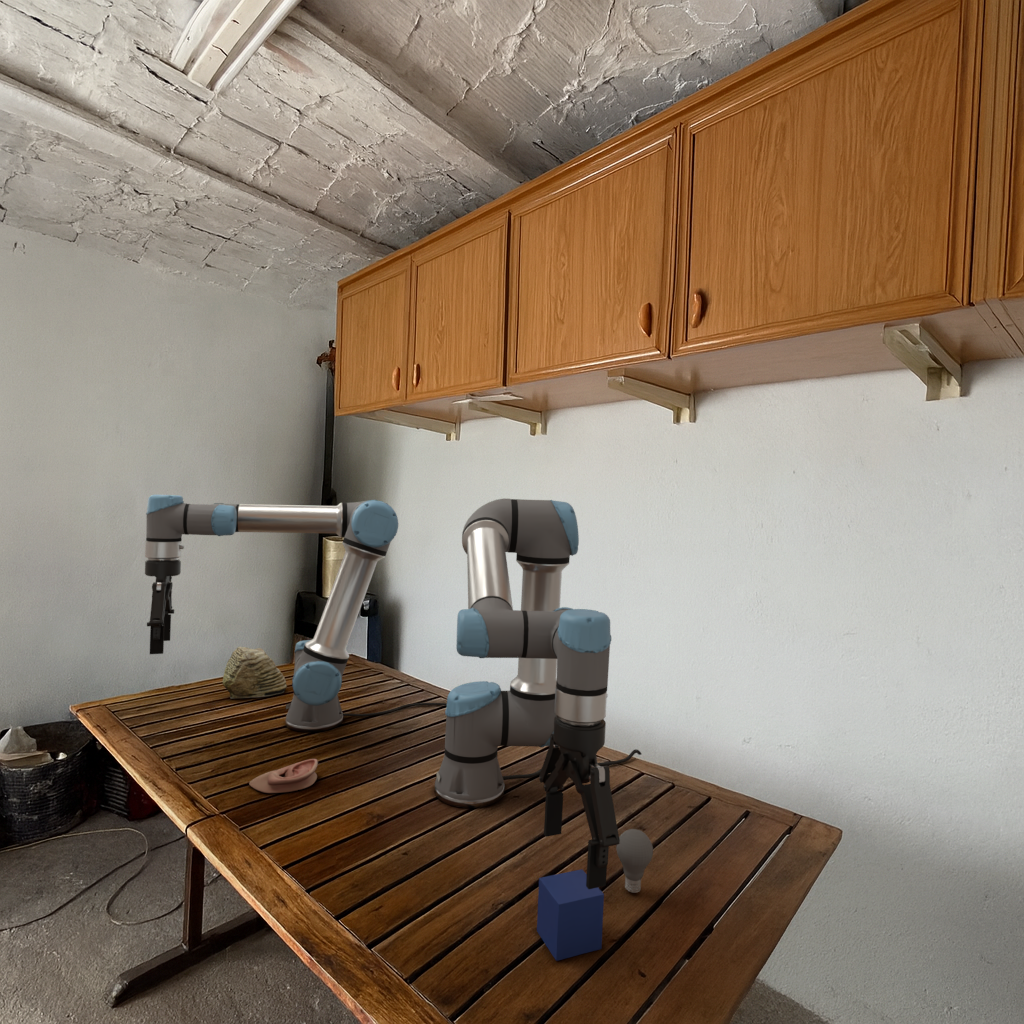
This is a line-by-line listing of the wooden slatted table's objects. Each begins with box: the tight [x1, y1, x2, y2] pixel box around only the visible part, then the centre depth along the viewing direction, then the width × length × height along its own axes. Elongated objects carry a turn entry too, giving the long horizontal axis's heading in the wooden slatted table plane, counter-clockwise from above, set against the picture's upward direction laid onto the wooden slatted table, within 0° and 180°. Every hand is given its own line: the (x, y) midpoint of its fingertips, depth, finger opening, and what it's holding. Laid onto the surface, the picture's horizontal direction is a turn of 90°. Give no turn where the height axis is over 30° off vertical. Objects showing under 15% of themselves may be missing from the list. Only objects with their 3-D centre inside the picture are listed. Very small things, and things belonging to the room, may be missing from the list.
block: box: [536, 868, 605, 962], centre depth 93 cm, size 7×7×8 cm
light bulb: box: [615, 828, 654, 894], centre depth 106 cm, size 6×6×10 cm
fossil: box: [222, 646, 288, 699], centre depth 198 cm, size 9×18×15 cm, turn 132°
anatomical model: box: [248, 758, 319, 794], centre depth 139 cm, size 13×4×12 cm
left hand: (160, 647), depth 152 cm, fingers open, 13 cm apart
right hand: (572, 858), depth 94 cm, fingers open, 13 cm apart
